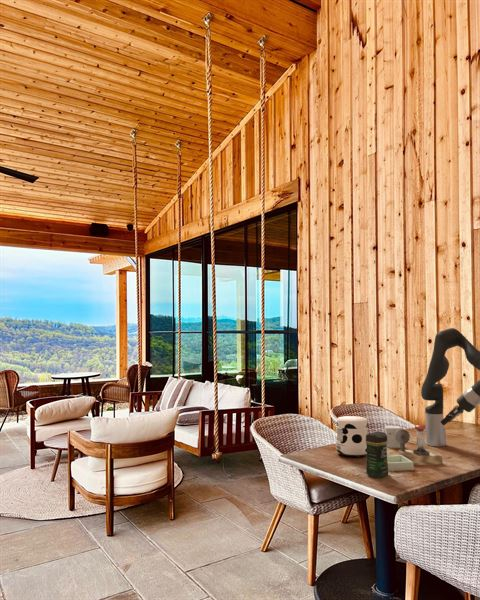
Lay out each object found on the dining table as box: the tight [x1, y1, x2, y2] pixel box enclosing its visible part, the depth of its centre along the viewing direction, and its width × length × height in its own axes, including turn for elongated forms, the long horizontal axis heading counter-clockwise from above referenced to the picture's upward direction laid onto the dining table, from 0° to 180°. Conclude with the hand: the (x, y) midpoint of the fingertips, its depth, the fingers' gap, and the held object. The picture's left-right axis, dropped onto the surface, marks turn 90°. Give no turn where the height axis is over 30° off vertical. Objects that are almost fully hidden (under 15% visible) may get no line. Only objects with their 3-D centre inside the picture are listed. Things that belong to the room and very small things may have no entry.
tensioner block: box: [395, 428, 443, 466], centre depth 221 cm, size 18×12×14 cm, turn 96°
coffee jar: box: [365, 430, 389, 479], centre depth 201 cm, size 10×8×19 cm
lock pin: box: [414, 424, 426, 452], centre depth 219 cm, size 5×5×13 cm
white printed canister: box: [335, 415, 369, 458], centre depth 235 cm, size 17×17×18 cm
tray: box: [387, 454, 415, 472], centre depth 213 cm, size 12×12×3 cm
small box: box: [384, 425, 402, 449], centre depth 249 cm, size 8×6×10 cm
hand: (444, 422), depth 212 cm, fingers open, 8 cm apart
